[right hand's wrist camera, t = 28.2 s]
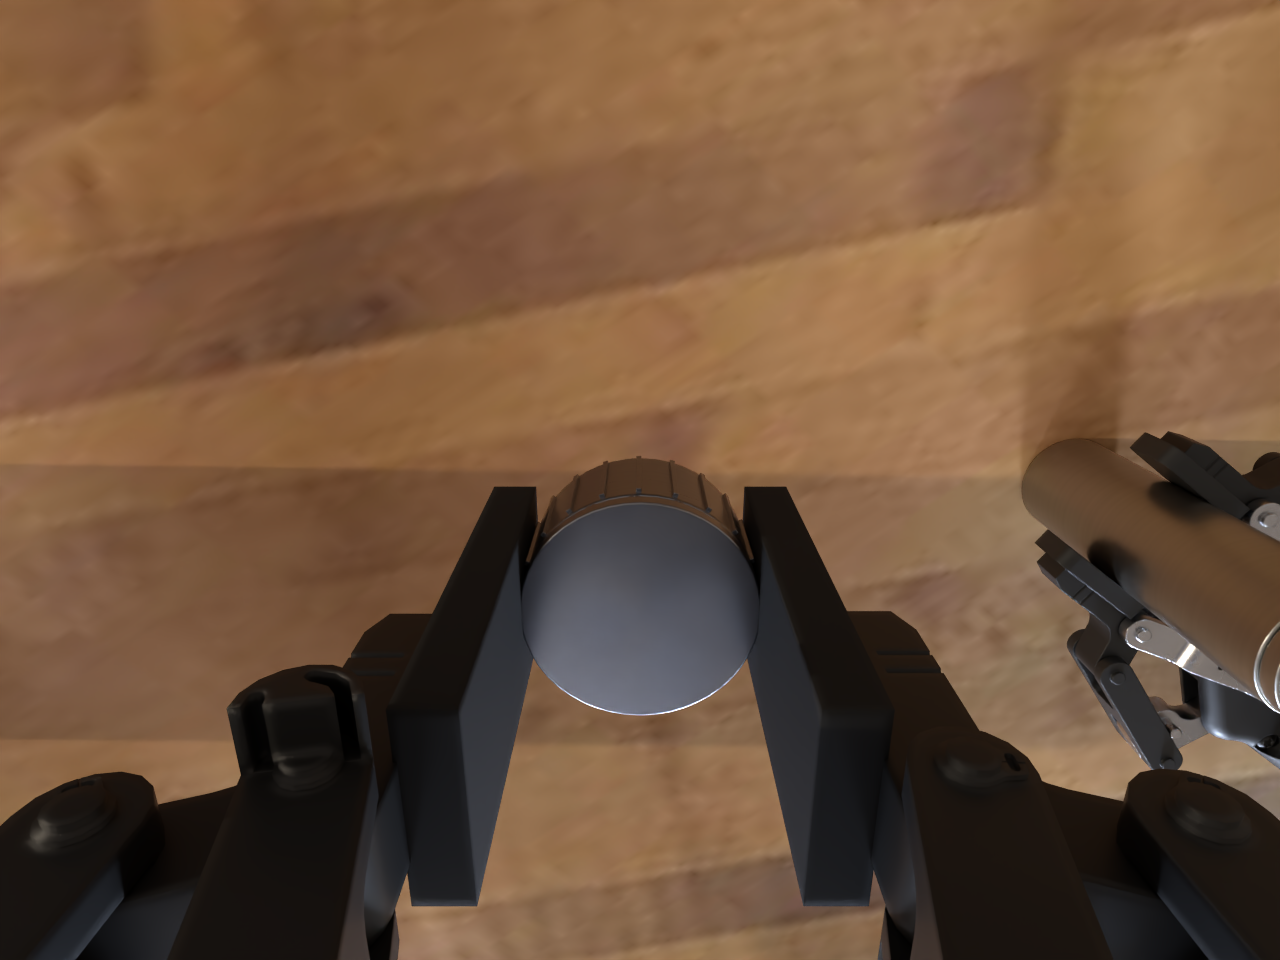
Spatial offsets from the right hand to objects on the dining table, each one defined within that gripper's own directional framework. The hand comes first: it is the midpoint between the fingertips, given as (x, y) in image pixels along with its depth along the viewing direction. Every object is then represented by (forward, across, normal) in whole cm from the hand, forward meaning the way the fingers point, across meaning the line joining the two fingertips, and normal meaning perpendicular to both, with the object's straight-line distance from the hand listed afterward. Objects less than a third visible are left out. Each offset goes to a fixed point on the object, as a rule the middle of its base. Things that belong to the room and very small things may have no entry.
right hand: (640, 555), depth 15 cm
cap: (-2, 0, 0) cm, 2 cm away
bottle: (+19, +19, -6) cm, 27 cm away
